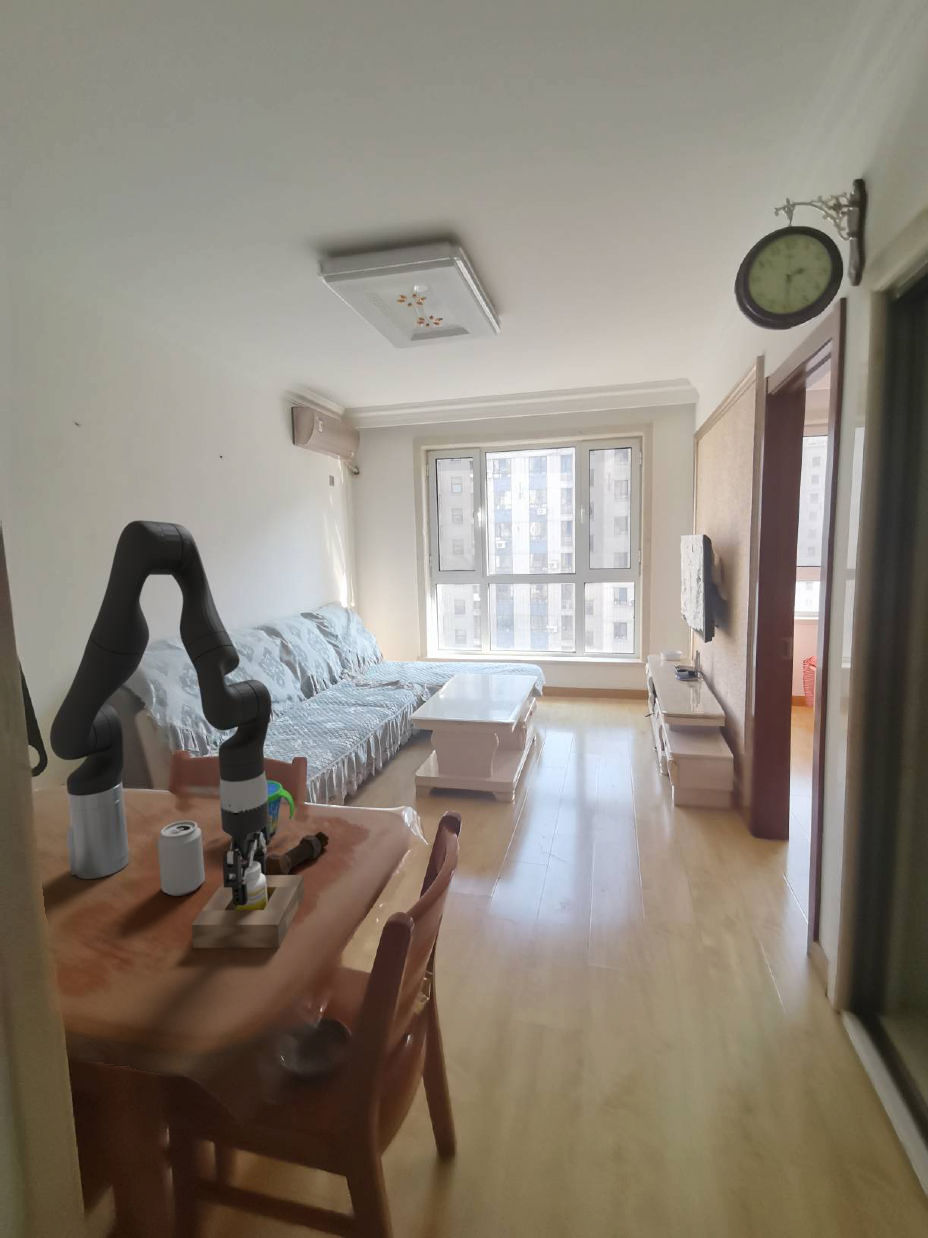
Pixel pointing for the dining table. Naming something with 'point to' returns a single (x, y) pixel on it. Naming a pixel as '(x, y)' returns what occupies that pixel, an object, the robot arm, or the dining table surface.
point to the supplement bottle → (255, 889)
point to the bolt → (296, 854)
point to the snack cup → (276, 803)
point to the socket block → (249, 917)
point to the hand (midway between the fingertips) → (250, 888)
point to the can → (181, 858)
